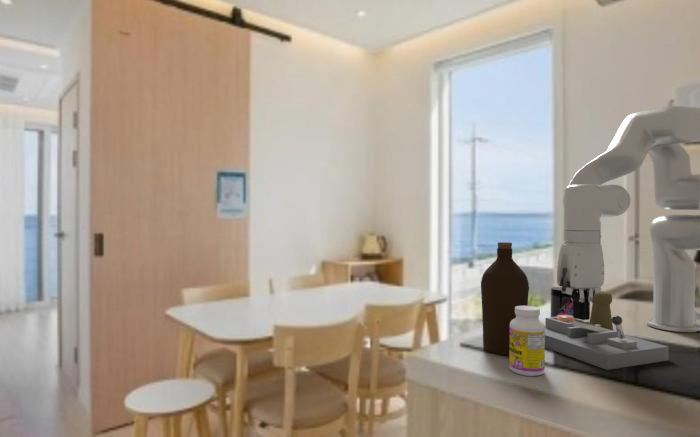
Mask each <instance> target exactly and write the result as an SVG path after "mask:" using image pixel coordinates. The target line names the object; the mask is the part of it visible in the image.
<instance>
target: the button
mask: <svg viewBox="0 0 700 437" xmlns="http://www.w3.org/2000/svg"><path fill="white" fill-rule="evenodd" d="M557 320H559V321H562V322H566V323H572V322H574V321H575V320H577V318H574V317H573V316H572V315H558V316H557Z"/></svg>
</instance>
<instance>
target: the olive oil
mask: <svg viewBox="0 0 700 437" xmlns="http://www.w3.org/2000/svg"><path fill="white" fill-rule="evenodd" d="M512 246H513V243H512V242H508V241H507V242H504V241H502V242H497V248H496V253H497V254H496V259H495V260H494V261H493V262H492V263H491V265H489V266H488V267H487V269H485V270H484V272H483V273H482V276H481V280H480V294H481V316H482V317H481V318H482V347H483V349H484V350H485V351H487V352H489V353H493V354H496V355H497V354H498V355H504V356H505V355H506V356H509V344H510V322H511V321H512V320H513V319H515V318H516V314H515V307H516V306H529V305H528V303H529V291H530V285H529V280H528V277H527V275H526V273H525V272H524V270H523V269H522V268H521V267H520V266H519V265H518V264H517V262H516V261H515V260H514V259H513V248H512Z"/></svg>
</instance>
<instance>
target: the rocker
mask: <svg viewBox="0 0 700 437" xmlns="http://www.w3.org/2000/svg"><path fill="white" fill-rule="evenodd" d="M573 325H575V326H578V327H582V328H586V329H589V330H594V331H598V332H604V331H612V330H608V329H605V328H601V327H597V326H596V325H594V324H591V323H587V322H583V321H579V320H575V321H574V322H573Z"/></svg>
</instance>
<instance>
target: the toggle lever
mask: <svg viewBox="0 0 700 437" xmlns="http://www.w3.org/2000/svg"><path fill="white" fill-rule="evenodd" d="M622 323H623V318H622V317H621V316H620V315H614V316H612V324H613V325H614V326H615V330H617V334H618V338H619V339H623V338H625V336H624V335H625V333H624V329H623V326H622Z"/></svg>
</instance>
